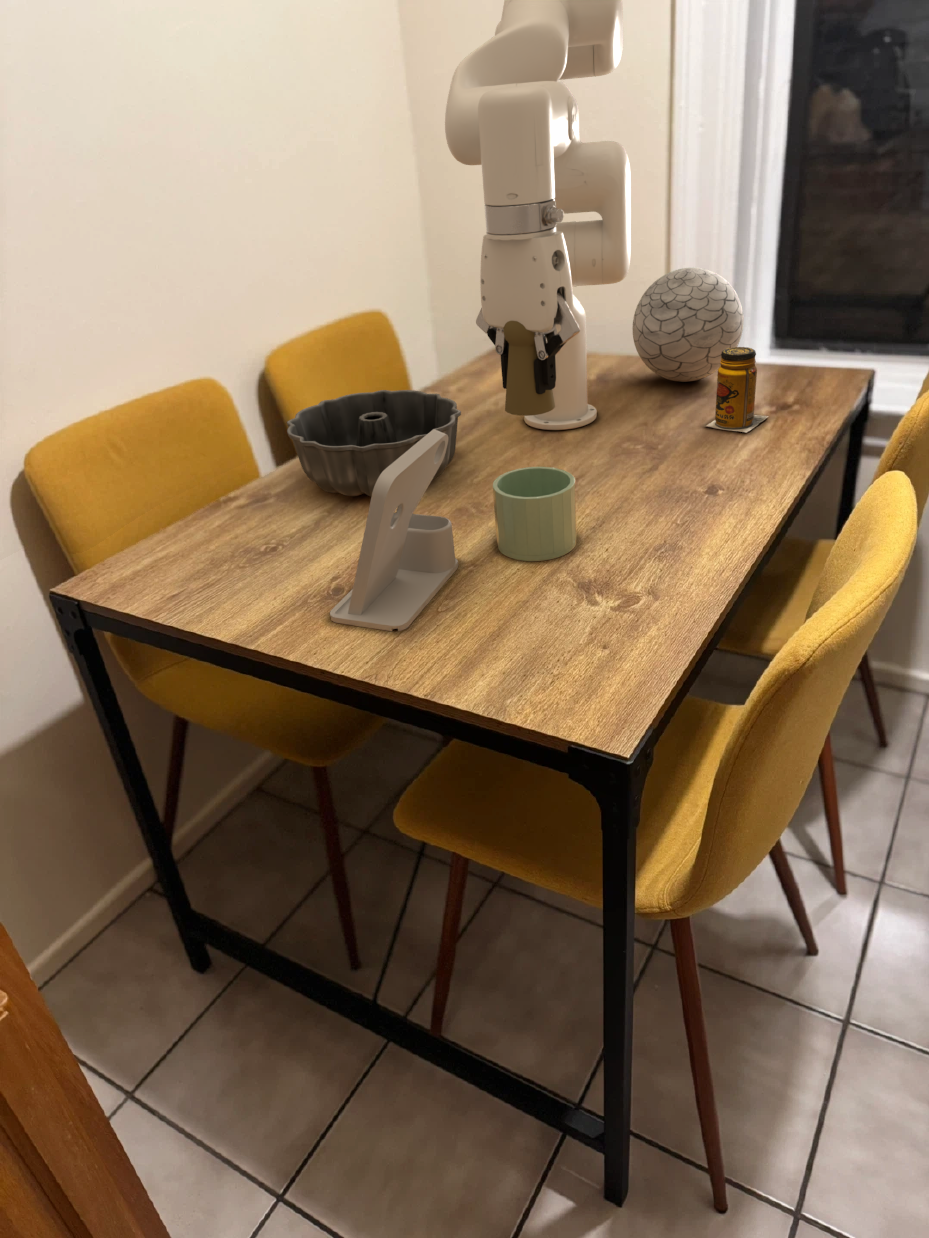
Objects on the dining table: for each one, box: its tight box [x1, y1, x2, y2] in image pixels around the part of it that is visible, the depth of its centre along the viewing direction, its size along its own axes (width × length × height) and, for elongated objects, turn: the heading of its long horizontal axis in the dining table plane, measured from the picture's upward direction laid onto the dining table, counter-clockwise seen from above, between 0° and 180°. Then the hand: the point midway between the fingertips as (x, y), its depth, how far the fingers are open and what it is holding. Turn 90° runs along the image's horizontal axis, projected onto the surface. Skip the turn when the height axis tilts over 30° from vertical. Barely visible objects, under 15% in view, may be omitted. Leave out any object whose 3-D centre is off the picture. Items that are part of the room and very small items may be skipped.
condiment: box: [705, 346, 770, 433], centre depth 143 cm, size 7×8×12 cm
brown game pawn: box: [503, 321, 555, 417], centre depth 103 cm, size 6×6×11 cm
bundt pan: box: [286, 389, 462, 498], centre depth 137 cm, size 26×26×10 cm
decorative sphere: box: [631, 267, 744, 383], centre depth 164 cm, size 20×20×20 cm
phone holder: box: [329, 429, 459, 632], centre depth 103 cm, size 17×10×18 cm, turn 157°
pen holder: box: [492, 466, 577, 562], centre depth 113 cm, size 10×10×8 cm
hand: (529, 386), depth 105 cm, fingers closed on brown game pawn, 4 cm apart
